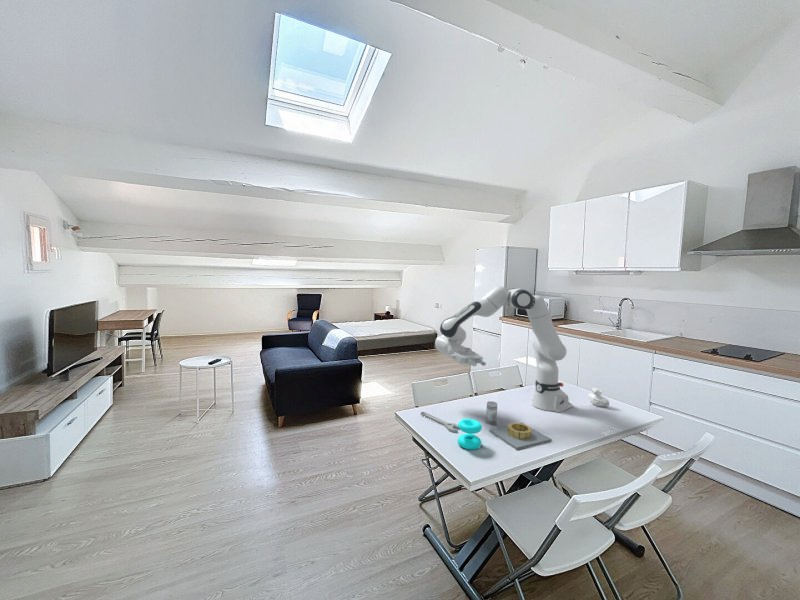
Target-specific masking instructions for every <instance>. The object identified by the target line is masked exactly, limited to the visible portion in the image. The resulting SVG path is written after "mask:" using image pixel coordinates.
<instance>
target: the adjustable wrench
mask: <svg viewBox="0 0 800 600" xmlns="http://www.w3.org/2000/svg"><path fill="white" fill-rule="evenodd" d="M421 415H423V416H422V417H424V416H425V417H424V418H426V417H427V418H426V419H428V418H429V419H428V420H430V419H431V420H430V421H432V420H433V422H434V421H435V423H437V424H439V425H441V426H444V428H446V430H447V431H448V432H451V433H458V431H459V430H460V429H459V427H458V423H455V422H454V423H453V422H447V421H444V420H442V419H440V418H439V417H436V416H434V415H432V414H430V413H428V412H425V411H421V412H420V416H421ZM460 431H461V430H460Z"/></svg>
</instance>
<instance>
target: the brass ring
mask: <svg viewBox="0 0 800 600" xmlns="http://www.w3.org/2000/svg"><path fill="white" fill-rule="evenodd" d="M522 423H523V422H522ZM522 423H521V422H511V423H509V424H508V434H509V435H510V436H512V437H514V438H517V439H530V438H531V436H532V429H531V428H532V427H531V426H529V425H527V424H525V423H524V424H522Z"/></svg>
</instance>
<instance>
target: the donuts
mask: <svg viewBox="0 0 800 600" xmlns="http://www.w3.org/2000/svg"><path fill="white" fill-rule="evenodd" d="M457 425H458V427H459V429H460V431H461V432H463V434H461V435H459V437H458V438H457V443H458V444H459V447H461V448H463V449H466V450H471V451H473V450H477V449H479V448H481V446H482V439H481V438H480V437H479V436H478V435H476V434H478V433H479V432H481V431H482V428H483V425H482V423H481V422H480V421H478V420H477V419H473V418H463V419H460V420H459V421H458V423H457ZM459 429H458V430H459Z"/></svg>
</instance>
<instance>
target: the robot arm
mask: <svg viewBox="0 0 800 600" xmlns="http://www.w3.org/2000/svg"><path fill="white" fill-rule="evenodd" d="M505 305H508V306H509V307H511V308H514V309H518V310H525V311H526V313H527V317H528V320H529V323H530V327H531V330H532V332H533V333H534V335H535V338H534V339H533V341H532V347H533V349H534V356H535V361H536V363H535V364H536V380H535V389H534V394H533V398H532V406H533V407H535V408H536V409H539V410H544V411H548V412H555V413H561V412H563V411H568V410H569V409H572V408H573V407H574V404H573V403H571V402H570V400H569V395H568V394H567V393H566V392H565V391H564V390H562V389H561V388H563V387H564V383H563V382H559V366H558V365H557V361H561V360H563V359H564V358H565V357H566V356H567V351H568V350H567V348H566V346H565V344H563V342H562V340H561V338H560V336H559V334H558V333H557V331H556V328H555V326H554V323H553V320H552V317H551V313H550V310H549V308H548V305H547V303H546V301H545V299H544V298H543V296H541V295H536V294H535V295H532V293H530V291H528V290H526V289H523V288H519V287H518V288H510V289H506V287H504V286H501V285H497V286H495V287H493V288H492V289H491V290H489V291H488V292H487V293H486V294H484V295H483V296H482V297H480V298H479V299H477V300H476V301H473V302H470V303H469V304H467V305H466V306H464V307H463V308H461V310H459V311H458V312H457V313H455V314H454V315H452V316H450V317H447V318H446V319H444V320H443V321H442V322H441V324H440V326H439V330H440V334H441V335H439V336H437V337H436V338H435V342H434V347H435V348H436V350H437V351H439V352H440V353H441V354H443V355H444V356H448V357H449V358H450V359H452V360H453V361H456V362H457V363H458V364H462V365H470V366H472V367H477V365H478V364H480V365H481V366H483V367H485V366H486V365H487V362H485V361H484V360H483V359H484V358H483V356H482V355H480V354H479V353H477V352H475V351H472V349H471V348H470V347H466V346H464V345H462V344H463V343H464V342H465V340H466V338H467V333H466V331H465V329H464V328H462V326H461V325H462V324H464V323H465V322H466V321H467V320H469V319H471V317H474V316H480V317H484V318H489V317H491V316H493V315H495V313H496V312H498V311H499V310H500V309H501V308H502V307H503V306H505Z"/></svg>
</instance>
